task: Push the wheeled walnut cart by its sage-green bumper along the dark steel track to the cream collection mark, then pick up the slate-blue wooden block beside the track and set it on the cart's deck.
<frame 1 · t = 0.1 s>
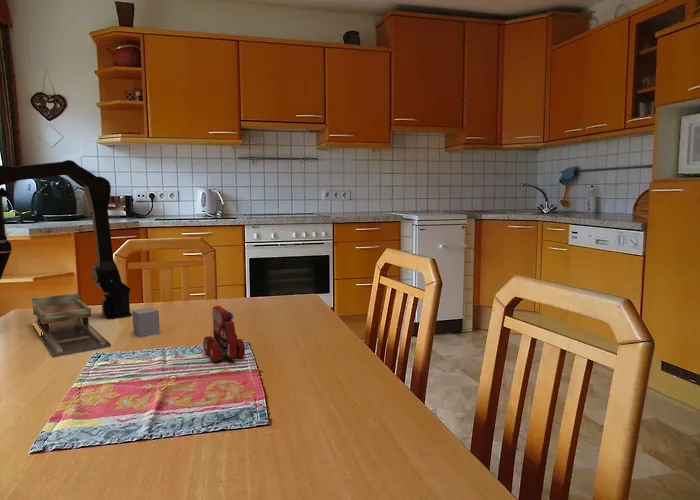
track: (68, 335, 133), on the table
cart: (61, 311, 139), point 5 cm above the table, slide at 0.0 cm
part block: (146, 333, 135), on the table
toy fire truck: (224, 356, 117), on the table
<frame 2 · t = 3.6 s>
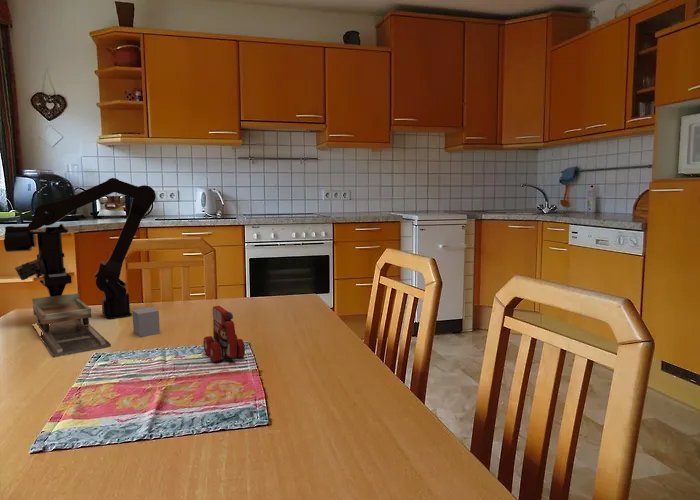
hand: (55, 305, 146), 4 cm above the table, fingers closed
cart: (61, 312, 139), point 5 cm above the table, slide at 0.3 cm, touching gripper
everything else where it was.
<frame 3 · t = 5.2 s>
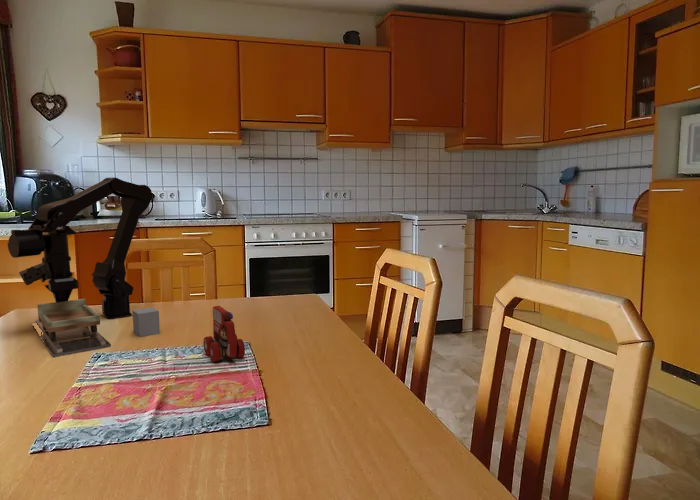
hand: (61, 311, 139), 5 cm above the table, fingers closed
cart: (68, 319, 131), point 5 cm above the table, slide at 9.5 cm, touching gripper
everything else where it was.
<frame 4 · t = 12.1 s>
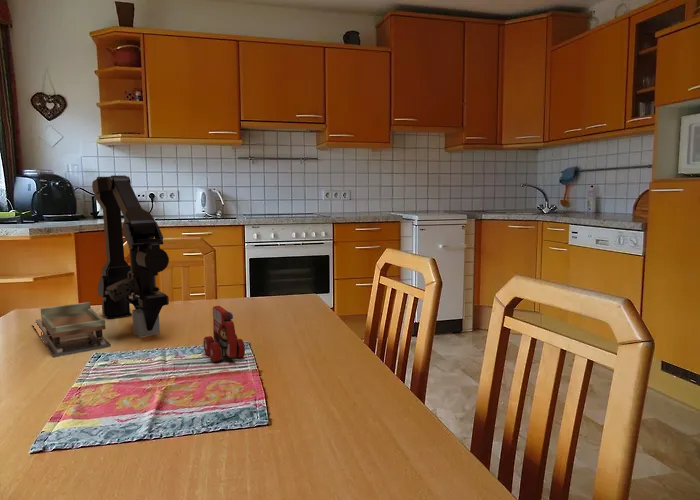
hand: (146, 328, 134), 1 cm above the table, fingers closed on part block, 5 cm apart
cart: (72, 323, 127), point 5 cm above the table, slide at 14.8 cm
part block: (146, 333, 135), on the table, touching gripper
everything else where it was.
when the fingers open (7 cm above the table, at t = 15.9 s): part block drops 1 cm, resting on cart.
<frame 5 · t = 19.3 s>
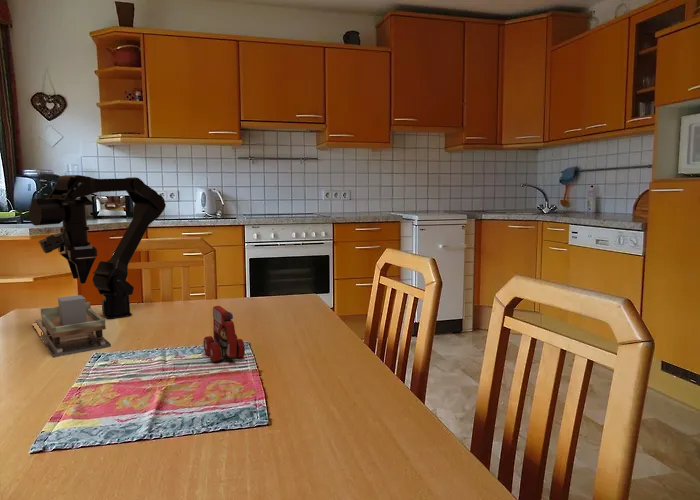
hand: (79, 280, 142), 12 cm above the table, fingers open, 9 cm apart
cart: (72, 323, 127), point 5 cm above the table, slide at 14.8 cm, touching part block
part block: (73, 322, 127), point 5 cm above the table, touching cart
everything else where it was.
at the end: cart slide at 14.8 cm; part block inside the target area on the cart (0.1 cm from its centre), point 4.9 cm above the cart's base; part block tilted 0° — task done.
